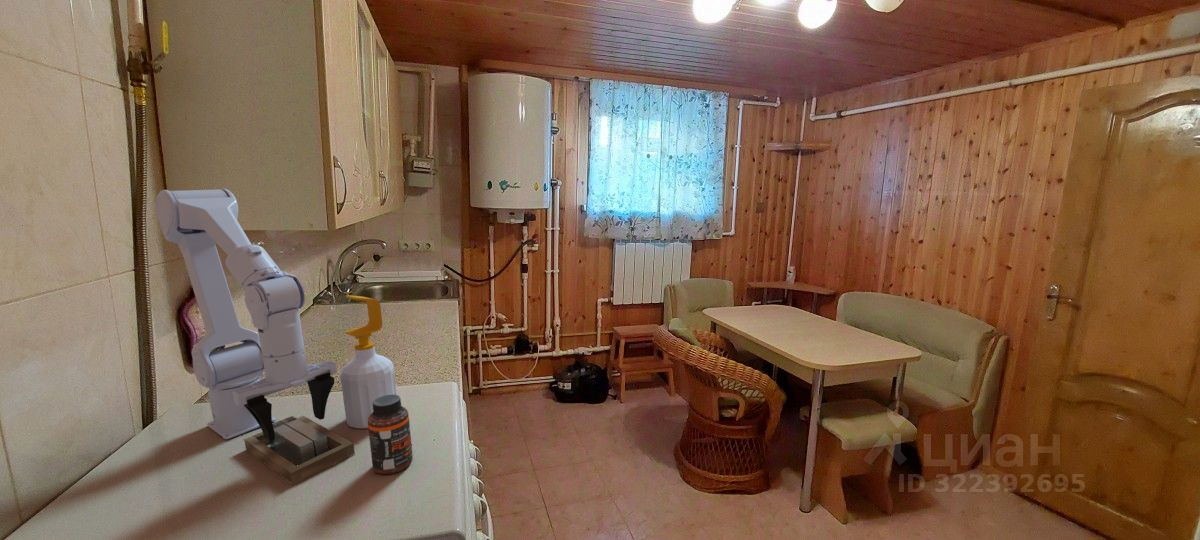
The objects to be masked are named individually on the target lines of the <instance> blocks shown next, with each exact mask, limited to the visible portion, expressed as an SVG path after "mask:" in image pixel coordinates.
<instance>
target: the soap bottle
mask: <svg viewBox="0 0 1200 540" xmlns="http://www.w3.org/2000/svg"><path fill="white" fill-rule="evenodd" d="M345 298H346V299H351V300H356V301H363V302H366V306H367V313H368V314H367V315H368V323H367V324H365V325H364V326H360V327H355V328H352V329H349V330H346V335H349V336H352V337H354V338H355V340H358V343H357V344H355V345H354V352H355V357H354V358H353V359H351V360H350V361H349V362H347V363H346V364H345V365H344V367H342V369H341V371H340V372H341V373H340V375H339V376H340V384H341V391H342V398H343V405H344V412H345V421H346V424H347V425H348V426H349V427H350V428H354V429H368V418H369V416H370V414H371V413H373V401H374V400H375V399H376V398H378V397H381V396H384V395H391V394H393V395H398V393H397V388H396V387H397V386H396V377H395V368H394V364H393V362H392V361H391V360H390V359H389V358H387V357H385V356H383V355H380V354H377V353H376V348H375V342H373V341H370V339H369V338H370V337H371V336H372V333H373V334H374V333H376V332H379V331H381V329H382V328H383V317H382V308H381V302H380V301H379V300H377V299H375V298H372V297H371V298H370V297H367V296H361V295H351V294H349V295H348V294H346V295H345Z"/></svg>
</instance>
